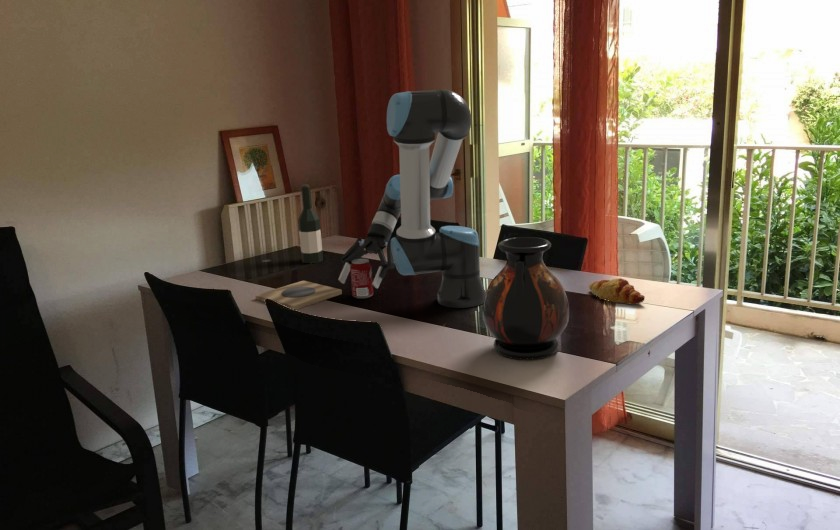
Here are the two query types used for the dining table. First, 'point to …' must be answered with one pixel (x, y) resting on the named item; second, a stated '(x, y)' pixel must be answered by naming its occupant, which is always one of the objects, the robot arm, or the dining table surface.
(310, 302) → the oak board
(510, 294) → the ceramic vase
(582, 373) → the dining table surface
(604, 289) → the croissant
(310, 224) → the wine bottle
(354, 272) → the soda can
